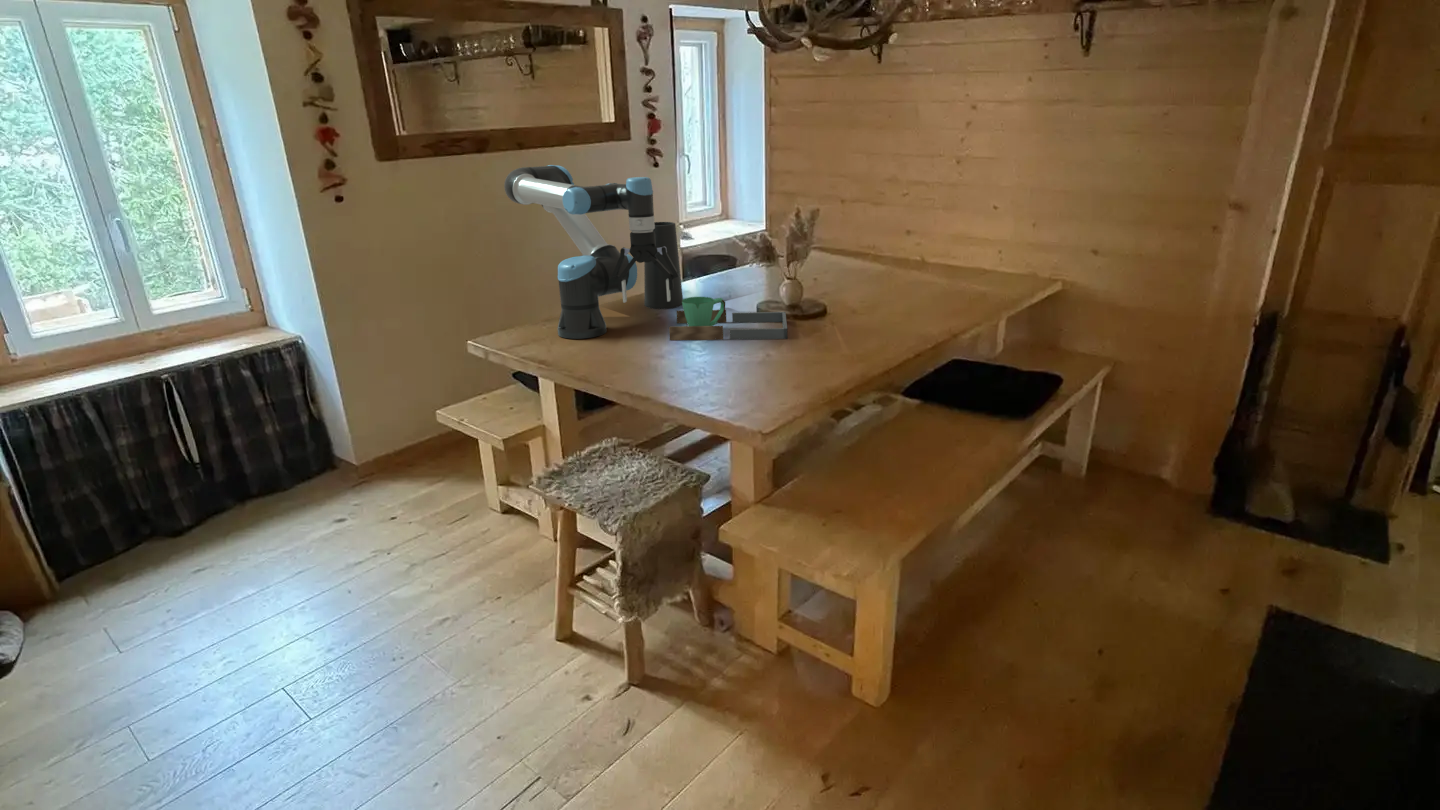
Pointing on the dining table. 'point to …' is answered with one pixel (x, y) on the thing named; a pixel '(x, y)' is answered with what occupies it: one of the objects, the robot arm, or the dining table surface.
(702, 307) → the mug
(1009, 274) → the dining table surface
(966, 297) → the dining table surface
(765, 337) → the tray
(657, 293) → the vase
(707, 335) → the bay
